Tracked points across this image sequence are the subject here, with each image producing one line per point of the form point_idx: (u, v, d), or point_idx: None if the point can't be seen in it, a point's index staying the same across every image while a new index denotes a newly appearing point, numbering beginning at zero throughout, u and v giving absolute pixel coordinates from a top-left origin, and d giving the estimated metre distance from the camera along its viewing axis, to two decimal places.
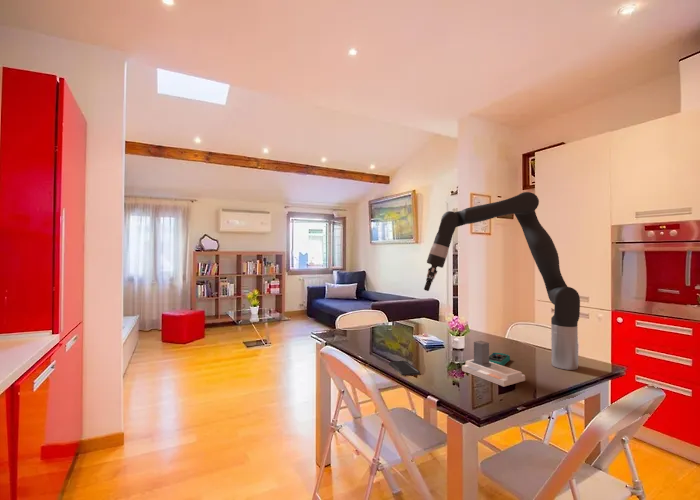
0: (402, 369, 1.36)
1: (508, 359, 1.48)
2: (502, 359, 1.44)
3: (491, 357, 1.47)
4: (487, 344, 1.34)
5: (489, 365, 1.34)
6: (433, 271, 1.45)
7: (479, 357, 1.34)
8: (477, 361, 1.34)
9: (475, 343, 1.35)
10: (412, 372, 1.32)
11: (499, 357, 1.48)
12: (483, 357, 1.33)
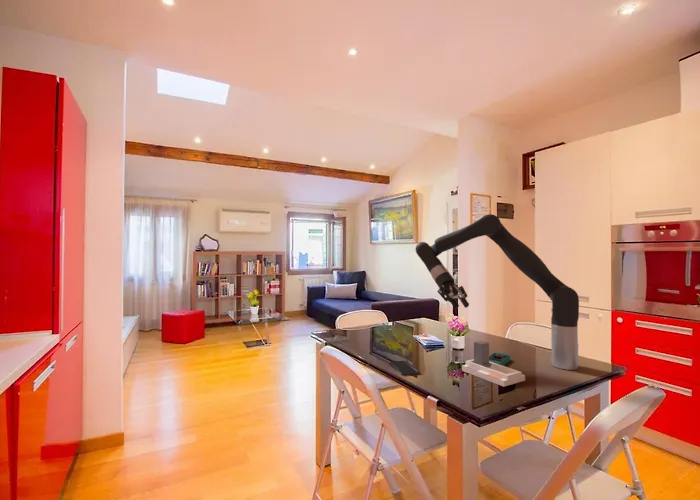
0: (402, 369, 1.36)
1: (508, 359, 1.47)
2: (502, 359, 1.44)
3: (491, 357, 1.47)
4: (487, 344, 1.34)
5: (489, 365, 1.34)
6: (441, 291, 1.46)
7: (479, 357, 1.34)
8: (477, 361, 1.34)
9: (475, 343, 1.35)
10: (412, 372, 1.32)
11: (499, 357, 1.48)
12: (483, 357, 1.33)
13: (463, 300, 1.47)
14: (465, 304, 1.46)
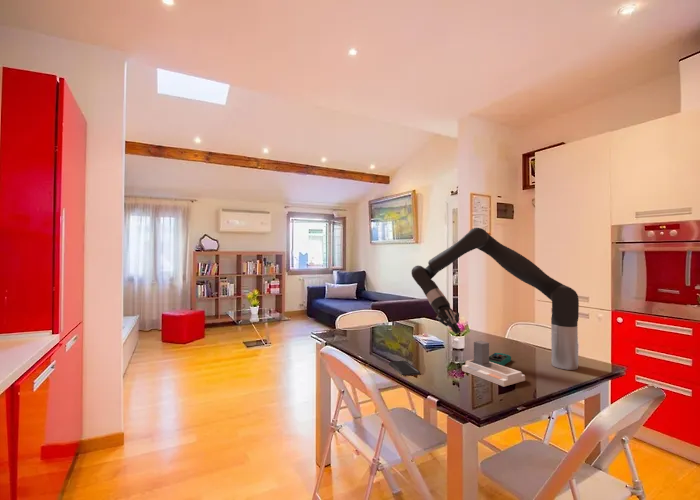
0: (402, 369, 1.36)
1: (509, 359, 1.47)
2: (502, 359, 1.44)
3: (491, 357, 1.47)
4: (487, 344, 1.34)
5: (489, 365, 1.34)
6: (440, 318, 1.48)
7: (479, 357, 1.34)
8: (477, 361, 1.34)
9: (475, 343, 1.35)
10: (412, 372, 1.32)
11: (500, 357, 1.47)
12: (483, 357, 1.33)
13: None
14: None
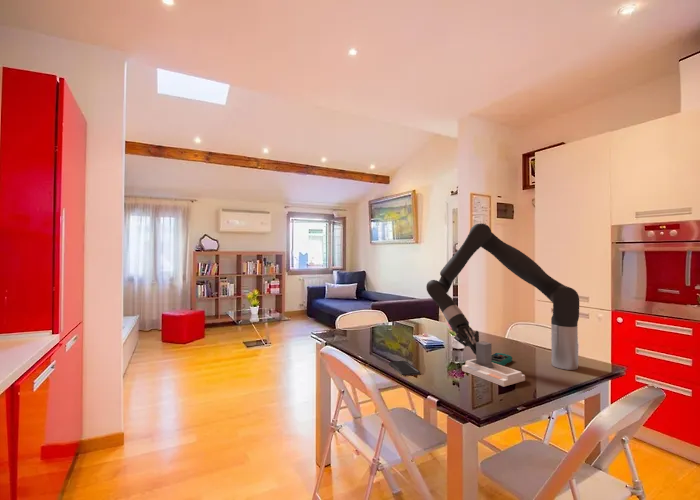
0: (402, 369, 1.36)
1: (509, 360, 1.47)
2: (502, 359, 1.43)
3: None
4: (489, 345, 1.33)
5: (491, 366, 1.33)
6: (459, 338, 1.38)
7: (482, 358, 1.33)
8: (479, 362, 1.33)
9: (477, 344, 1.34)
10: (412, 372, 1.32)
11: (500, 357, 1.47)
12: (485, 358, 1.32)
13: None
14: None
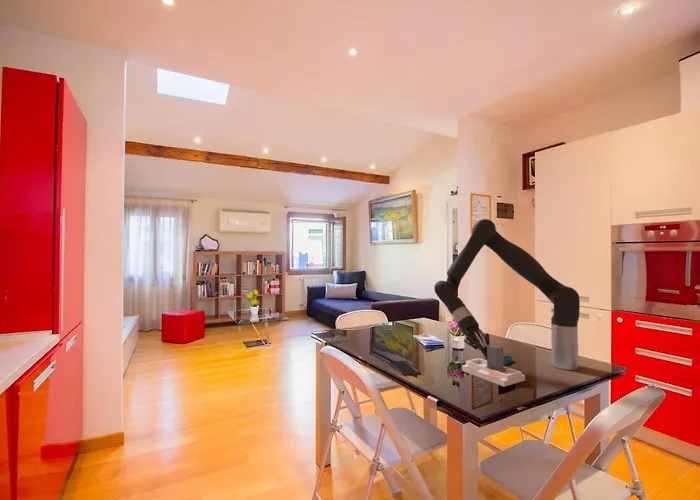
0: (402, 369, 1.36)
1: (510, 360, 1.46)
2: None
3: None
4: (501, 348, 1.28)
5: (503, 370, 1.28)
6: (469, 341, 1.34)
7: (493, 362, 1.28)
8: (491, 366, 1.29)
9: (488, 347, 1.30)
10: (412, 372, 1.32)
11: None
12: (497, 362, 1.27)
13: None
14: None
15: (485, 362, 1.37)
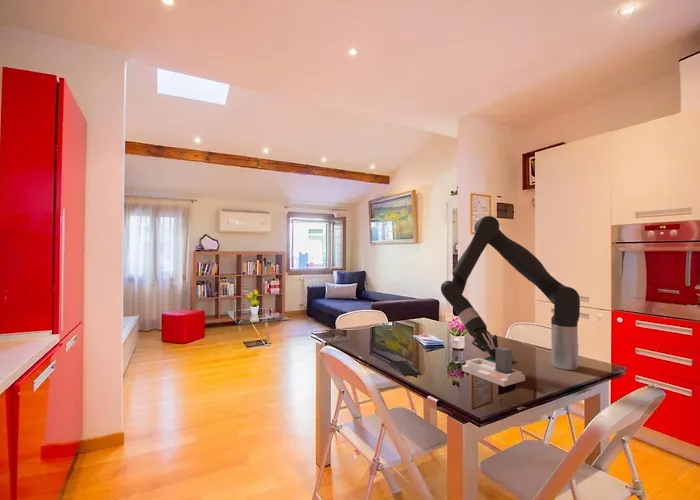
0: (402, 369, 1.36)
1: None
2: None
3: None
4: (510, 350, 1.25)
5: None
6: (477, 343, 1.31)
7: (502, 365, 1.25)
8: (499, 369, 1.26)
9: (497, 349, 1.27)
10: (412, 372, 1.32)
11: None
12: (505, 364, 1.24)
13: None
14: None
15: (485, 362, 1.37)
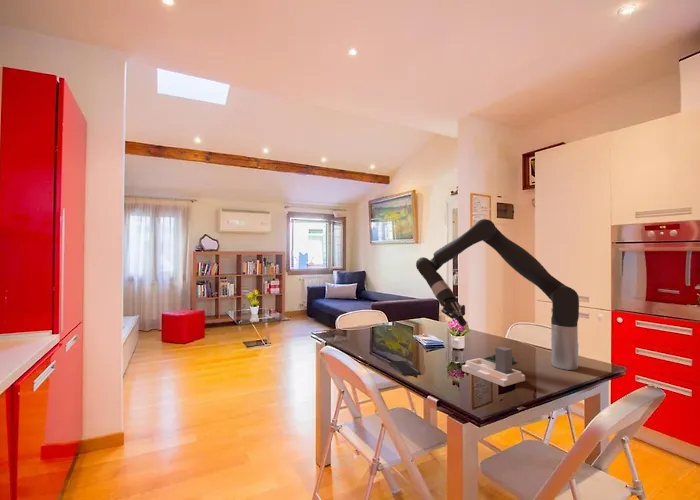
0: (402, 369, 1.36)
1: None
2: None
3: (492, 357, 1.46)
4: (510, 350, 1.25)
5: None
6: (446, 310, 1.45)
7: (502, 365, 1.25)
8: (499, 369, 1.26)
9: (497, 349, 1.27)
10: (412, 372, 1.32)
11: None
12: (505, 364, 1.24)
13: None
14: None
15: (485, 362, 1.37)
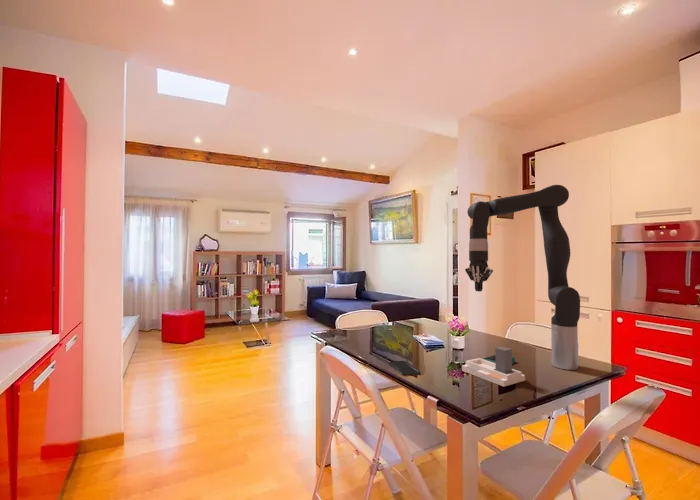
0: (402, 369, 1.36)
1: None
2: None
3: (492, 357, 1.46)
4: (510, 350, 1.25)
5: None
6: (490, 273, 1.38)
7: (502, 365, 1.25)
8: (499, 369, 1.26)
9: (497, 349, 1.27)
10: (412, 372, 1.32)
11: None
12: (505, 364, 1.24)
13: None
14: None
15: (485, 362, 1.37)
